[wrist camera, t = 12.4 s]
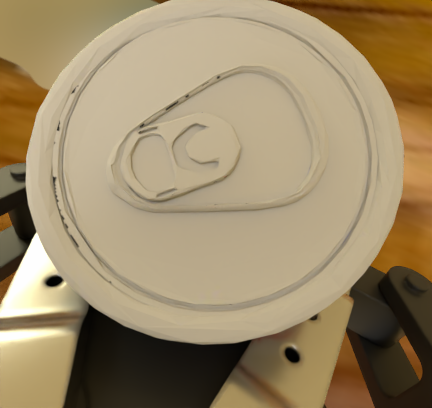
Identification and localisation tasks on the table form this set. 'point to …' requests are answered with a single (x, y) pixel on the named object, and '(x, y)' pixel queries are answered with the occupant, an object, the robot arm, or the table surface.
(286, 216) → the beverage can
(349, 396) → the table surface
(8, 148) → the table surface
